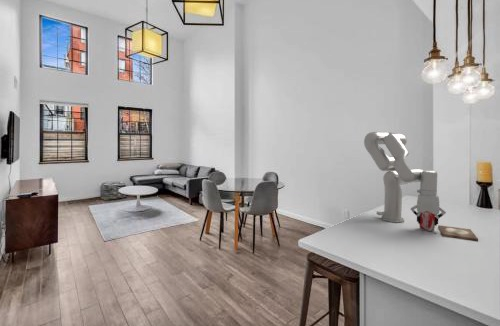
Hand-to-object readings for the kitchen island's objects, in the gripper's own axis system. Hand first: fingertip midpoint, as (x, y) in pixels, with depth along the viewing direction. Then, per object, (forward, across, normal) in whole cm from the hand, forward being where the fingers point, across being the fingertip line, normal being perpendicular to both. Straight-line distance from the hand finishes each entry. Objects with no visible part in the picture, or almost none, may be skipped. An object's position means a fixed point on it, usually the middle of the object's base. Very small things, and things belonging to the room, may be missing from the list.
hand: (427, 223), depth 138 cm
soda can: (+4, 0, 0) cm, 4 cm away
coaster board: (+3, +13, 0) cm, 13 cm away
